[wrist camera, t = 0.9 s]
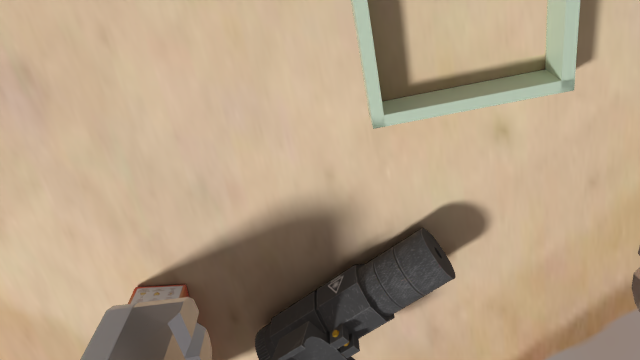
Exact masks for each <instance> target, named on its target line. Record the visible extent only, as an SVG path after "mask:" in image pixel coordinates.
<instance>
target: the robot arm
mask: <svg viewBox="0 0 640 360" xmlns="http://www.w3.org/2000/svg"><path fill="white" fill-rule="evenodd" d="M638 254H639V255H640V247H639V251H638ZM632 292H633V296H634V301H635V304H636V306H637V308H638V310H639V312H640V267H639V268H638V269H637V270H636V271H635V272H634V275H633V282H632ZM198 315H199V310H198V308H197V306H196V303H195V301H194V299H192V298H189V297H184V298H175V299H166V300H157V301H148V302H139V303H135V304H125V305H116V306H112V307H111V308H110V309H108V310H107V311H106V312H105V314H104V316H103V318H102V320H101V322H100V323H99V325H98V327H97V329H96V331H95V333H94V335H93V337H92V338H91V340H90V342H89V344H88V346H87V348H86V350H85V352H84V354H83V355H82V357H81V359H80V360H212V347H211V341H210V337H209V334H208V332H207V329H206V328H205V327H203V326H202V325H200V324H199V323H197V318H198Z"/></svg>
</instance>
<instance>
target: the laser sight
mask: <svg viewBox="0 0 640 360" xmlns="http://www.w3.org/2000/svg"><path fill="white" fill-rule="evenodd" d="M453 279H455V272H454V270H453V267H452V265H451V263H450V261H449V259H448V258H447V256H446V254H445V253H444V251H443V250H442V248H441V247H440V245H439V244H438V242H437V241H436V240H435V239H434V237H433V236H432V235H431V234H430V233H429V232H428V231H427V230H426V229H424V228H421V229H420V230H418V231H417V232H415V233H414V234H412V235H411V236H409V237H408V238H406V239H405V240H403V241H401V242H400V243H398V244H396V245H395V246H393V247H392V248H390V249H389V250H387V251H386V252H384V253H383V254H381V255H379V256H377V257H376V258H374V259H373V260H371V261H370V262H368V263H367V264H365V265H364V264H360V265H354V266H353V267H351V268H350V269H348V270H347V271H345V272H343V273H342V274H340V275H339V276H337V277H336V278H334V279H332V280H331V281H329V282H328V283H326V284H325V285H323V286H322V287H320V288H318V289H317V290H315V291H314V292H312V293H311V294H309V295H308V296H306V297H304V298H303V299H301V300H300V301H298V302H297V303H295V304H294V305H292V306H290V307H289V308H287V309H286V310H284V311H283V312H281V313H280V314H278V315H276V316H275V317H273V318H272V320H271V324H269V325H267V326H266V327H264V328H262V329H261V330H259V332H258V333H257V335H256V339H255V347H256V352H257V355H258V358H259V360H355V359H354V358H352V357H351V356H352V355H354V354H355V353H357V352H359V351H360V349H359V340H358V339H359V338H361V337H362V336H364V335H366V334H367V333H369V332H371V331H373V330H374V329H376V328H378V327H379V326H381V325H383V324H385V323H386V322H388V321H390V320H392V319H393V318H394V313H396V312H397V311H399V310H401V309H403V308H405V307H406V306H408V305H409V304H411V303H413V302H415V301H416V300H418V299H420V298H422V297H423V296H425V295H427V294H429V293H430V292H432V291H433V290H435V289H437V288H439V287H440V286H442V285H444V284H445V283H447V282H449V281H450V280H453Z"/></svg>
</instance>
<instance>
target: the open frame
mask: <svg viewBox="0 0 640 360" xmlns="http://www.w3.org/2000/svg"><path fill="white" fill-rule="evenodd" d="M351 3H352V9H353V15H354V22H355V28H356V34H357V40H358V46H359V53H360V59H361V65H362V71H363V77H364V84H365V90H366V96H367V102H368V109H369V115H370V118H371V122H372V125H373V129H374V128H380V127H385V126H390V125H395V124H401V123H406V122H411V121H416V120H421V119H427V118H432V117H437V116H442V115H448V114H453V113H458V112H463V111H468V110H474V109H479V108H484V107H489V106H495V105H500V104H505V103H510V102H516V101H521V100H526V99H531V98H536V97H542V96H547V95H552V94H557V93H563V92H568V91H573V90H574V84H575V69H576V55H577V41H578V26H579V12H580V0H548V6H547V34H546V61H545V70H540V71H535V72H530V73H525V74H520V75H515V76H510V77H504V78H499V79H494V80H489V81H484V82H479V83H474V84H469V85H464V86H459V87H453V88H448V89H443V90H438V91H433V92H428V93H423V94H418V95H413V96H408V97H402V98H397V99H392V100H387V101H382V99H381V92H380V85H379V78H378V71H377V64H376V57H375V50H374V43H373V36H372V29H371V23H370V16H369V9H368V2H367V0H351Z"/></svg>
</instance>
